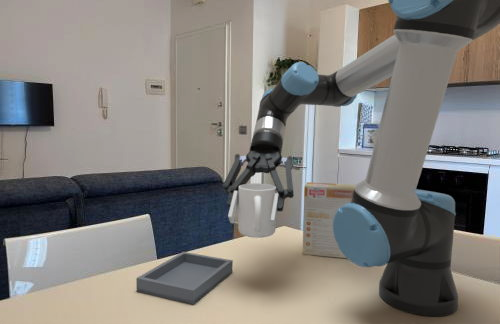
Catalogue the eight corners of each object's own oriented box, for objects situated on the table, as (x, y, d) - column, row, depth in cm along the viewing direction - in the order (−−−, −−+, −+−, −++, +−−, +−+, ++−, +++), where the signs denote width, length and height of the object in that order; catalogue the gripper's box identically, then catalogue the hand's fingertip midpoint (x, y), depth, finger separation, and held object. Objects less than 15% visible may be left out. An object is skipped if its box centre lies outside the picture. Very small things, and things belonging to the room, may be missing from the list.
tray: (232, 272, 91) (232, 260, 91) (193, 305, 75) (193, 290, 74) (183, 263, 97) (183, 251, 96) (136, 291, 80) (136, 278, 80)
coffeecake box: (357, 251, 108) (360, 184, 105) (358, 260, 101) (361, 188, 99) (304, 246, 111) (306, 181, 109) (301, 254, 104) (304, 185, 102)
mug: (277, 244, 75) (279, 193, 74) (236, 243, 75) (237, 193, 74) (274, 227, 87) (275, 183, 86) (238, 226, 87) (239, 183, 86)
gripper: (311, 151, 92) (303, 234, 78) (229, 148, 97) (207, 226, 83) (311, 130, 86) (302, 216, 73) (223, 128, 91) (199, 208, 77)
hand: (251, 221), depth 78 cm, fingers closed on mug, 8 cm apart
